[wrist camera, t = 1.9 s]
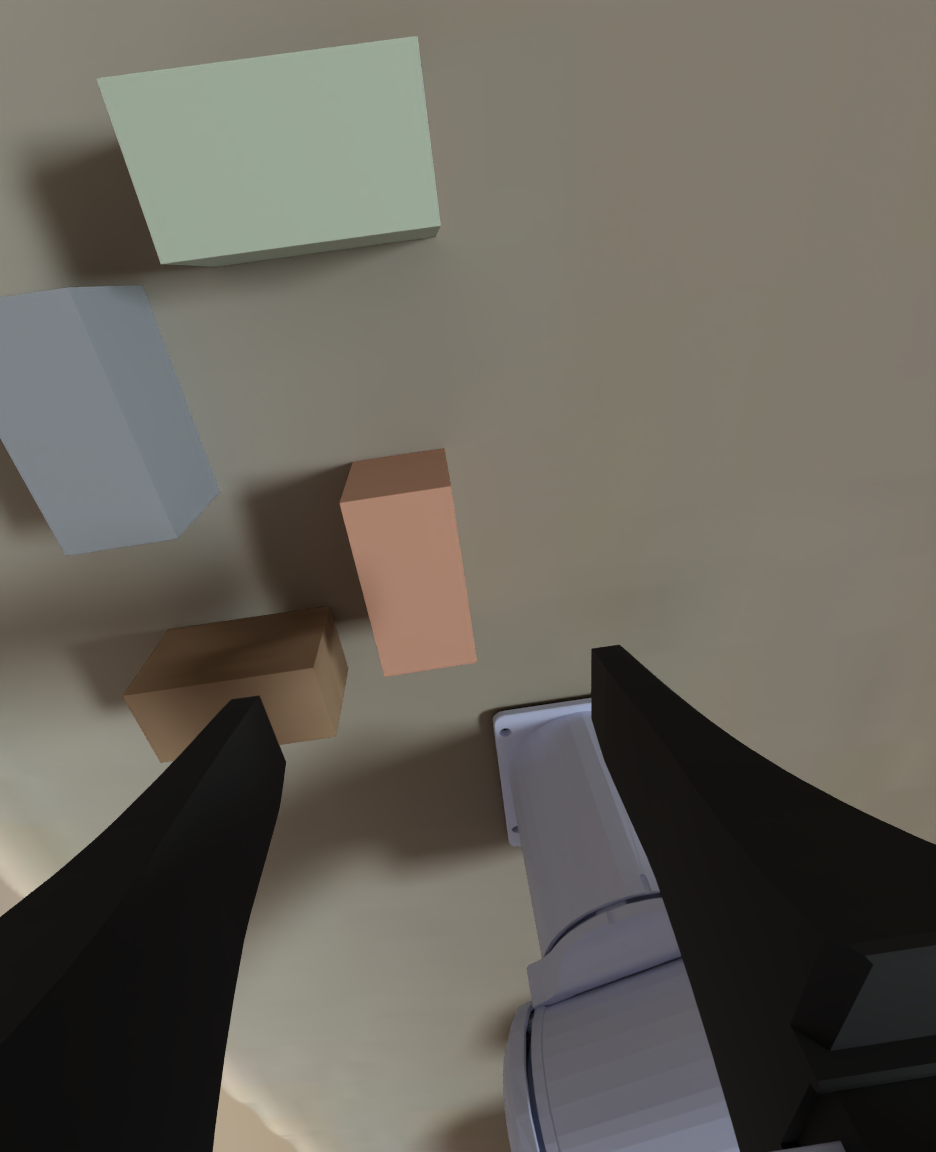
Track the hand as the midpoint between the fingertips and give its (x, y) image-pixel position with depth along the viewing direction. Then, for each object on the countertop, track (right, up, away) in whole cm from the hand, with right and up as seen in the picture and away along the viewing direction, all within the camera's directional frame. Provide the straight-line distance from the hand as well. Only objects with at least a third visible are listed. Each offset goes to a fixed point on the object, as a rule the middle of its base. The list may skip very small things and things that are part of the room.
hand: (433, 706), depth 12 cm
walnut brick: (-8, 0, +11) cm, 13 cm away
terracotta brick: (-1, +4, +9) cm, 10 cm away
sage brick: (-4, +14, +3) cm, 15 cm away
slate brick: (-10, +8, +6) cm, 14 cm away
